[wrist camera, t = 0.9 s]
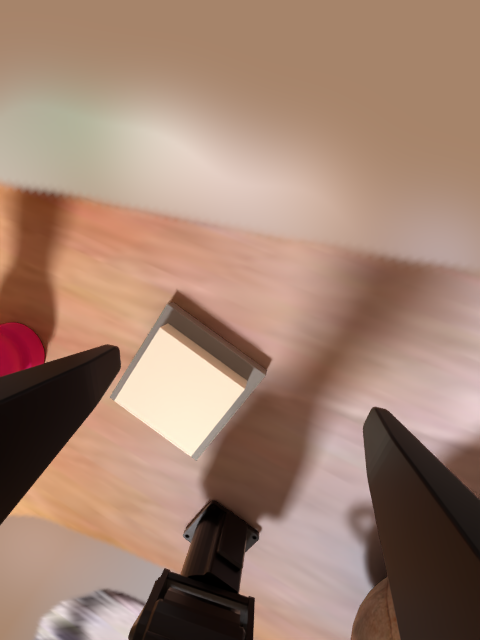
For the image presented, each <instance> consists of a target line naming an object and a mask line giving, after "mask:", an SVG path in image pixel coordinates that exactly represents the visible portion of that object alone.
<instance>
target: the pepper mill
mask: <svg viewBox="0 0 480 640" xmlns="http://www.w3.org/2000/svg"><path fill="white" fill-rule="evenodd" d="M44 358H45V354H44V348H43V345H42V343H41V340H40V339H39V337H38V336H37V335H36V334H35V333H34V331H33V330H31V329H30V328H28V327H27V326H25V325H23V324H19V323H15V322H11V323H5V324H1V325H0V377H1V376H5V375H8V374H11V373H14V372H18V371H21V370H24V369H28V368H31V367H34V366H37V365H41V364H44Z"/></svg>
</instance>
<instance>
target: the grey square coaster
mask: <svg viewBox="0 0 480 640" xmlns="http://www.w3.org/2000/svg"><path fill="white" fill-rule="evenodd" d="M266 372H267V370H266V369H264V368H263V367H262V366H260V365H259V364H257V363H256V362H255V361H253V360H252V359H251V358H249V357H248V356H246V355H245V354H244V353H242V352H241V351H240V350H238V349H237V348H235V347H234V346H233V345H231V344H230V343H229V342H227V341H226V340H224V339H223V338H222V337H220V336H219V335H218V334H216V333H215V332H213V331H212V330H211V329H209V328H208V327H206V326H205V325H204V324H202V323H201V322H200V321H198V320H197V319H195V318H194V317H193V316H191V315H190V314H189V313H187V312H186V311H184V310H183V309H182V308H180V307H179V306H178V305H176V304H175V303H173V302H171V303H168V304H167V305H166V307H165V308H164V310H163V311H162V313H161V315H160V316H159V318H158V320H157V321H156V323H155V324H154V326H153V328H152V329H151V331H150V333H149V334H148V336H147V337H146V339H145V341H144V342H143V344H142V346H141V347H140V349H139V350H138V352H137V354H136V355H135V357H134V359H133V360H132V362H131V363H130V365H129V367H128V368H127V370H126V372H125V373H124V375H123V376H122V378H121V380H120V381H119V383H118V385H117V386H116V388H115V389H114V391H113V393H112V394H111V396H110V398H111V399H112V400H114V401H115V402H116V403H118V404H119V405H121V406H122V407H123V408H125V409H126V410H127V411H129V412H130V413H131V414H133V415H134V416H136V417H137V418H138V419H140V420H141V421H142V422H144V423H145V424H147V425H148V426H149V427H151V428H152V429H153V430H155V431H156V432H158V433H159V434H160V435H162V436H163V437H164V438H166V439H167V440H169V441H170V442H171V443H173V444H174V445H175V446H177V447H178V448H179V449H181V450H182V451H184V452H185V453H186V454H188V455H189V456H190V457H192V458H193V459H195V460H196V461H197V460H198V458H199V457H200V456H201V455H202V453H203V452H204V451H205V450H206V448H207V447H208V446H209V445H210V444H211V442H212V441H213V440H214V439H215V437H216V436H217V435H218V434H219V433H220V431H221V430H222V429H223V428H224V426H225V425H226V424H227V423H228V421H229V420H230V419H231V418H232V417H233V415H234V414H235V413H236V412H237V410H238V409H239V408H240V407H241V406H242V404H243V403H244V402H245V401H246V399H247V398H248V397H249V396H250V394H251V393H252V392H253V391H254V390H255V388H256V387H257V386H258V385H259V383H260V382H261V381H262V380H263V379H264V377H265V376H266Z"/></svg>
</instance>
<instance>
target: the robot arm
mask: <svg viewBox="0 0 480 640" xmlns="http://www.w3.org/2000/svg"><path fill="white" fill-rule="evenodd" d="M120 368H121V360H120V350H119V348H118V347H117V346H113V345H108V344H107V345H103V346H100V347H96V348H93V349H90V350H87V351H83V352H80V353H77V354H74V355H70V356H67V357H64V358H60V359H57V360H54V361H51V362H47V363H44V364H41V365H37V366H34V367H31V368H28V369H24V370H21V371H18V372H14V373H11V374H8V375H5V376H1V377H0V525H1V524H2V522H3V521H4V520H5V519H6V518H7V516H8V515H9V514H10V513H11V511H12V510H13V509H14V508H15V506H16V505H17V504H18V503H19V501H20V500H21V499H22V498H23V496H24V495H25V494H26V493H27V491H28V490H29V489H30V488H31V487H32V485H33V484H34V483H35V482H36V480H37V479H38V478H39V477H40V475H41V474H42V473H43V472H44V470H45V469H46V468H47V467H48V465H49V464H50V463H51V462H52V460H53V459H54V458H55V457H56V455H57V454H58V453H59V452H60V451H61V449H62V448H63V447H64V446H65V444H66V443H67V442H68V441H69V439H70V438H71V437H72V436H73V434H74V433H75V432H76V431H77V429H78V428H79V427H80V426H81V424H82V423H83V422H84V421H85V420H86V418H87V417H88V416H89V415H90V413H91V412H92V411H93V409H94V408H95V407H96V406H97V404H98V403H99V401H100V400H101V398H102V397H103V395H104V394H105V392H106V391H107V389H108V388H109V386H110V385H111V383H112V381H113V380H114V378H115V377H116V375H117V374H118V372H119V370H120ZM363 438H364V448H365V459H366V470H367V478H368V484H369V489H370V494H371V498H372V503H373V508H374V513H375V518H376V523H377V528H378V533H379V537H380V542H381V547H382V552H383V557H384V562H385V567H386V571H387V576H388V581H389V586H390V591H391V596H392V601H393V605H394V610H395V615H396V620H397V625H398V630H399V635H400V639H401V640H480V499H478V498H477V497H476V496H475V495H474V494H473V493H472V492H471V491H470V490H469V489H468V488H467V487H466V486H465V485H464V484H463V483H462V482H461V481H460V480H459V479H458V478H457V477H456V476H455V475H454V474H453V473H452V472H451V471H450V470H449V469H448V468H447V467H446V466H445V465H444V464H443V463H441V462H440V461H439V460H438V459H437V458H436V457H435V456H434V455H433V454H432V453H431V452H430V451H429V450H428V449H427V448H426V447H425V446H424V445H423V444H422V443H421V442H420V441H419V440H418V439H417V438H416V437H415V436H414V435H413V434H412V433H411V432H410V431H409V430H408V429H407V428H405V427H404V426H403V425H402V424H401V423H400V422H399V421H398V420H397V419H396V418H395V417H394V416H393V415H392V414H391V413H390V412H389V411H388V410H386V409H383V408H378V407H373V408H372V409H371V411H370V413H369V415H368V417H367V419H366V421H365V423H364V426H363ZM183 537H184V538H185V539H186V540H188V541H189V542H190V543H191V544H190V547H189V550H188V553H187V556H186V559H185V562H184V565H183V568H182V571H181V574H177V573H174V572H171V571H170V570H169V569H166V568H164V570H163V573H162V575H161V577H159V578H158V580H157V581H155V584H154V587H153V589H152V592H151V594H150V596H149V598H148V601H147V603H146V605H145V606H144V608H143V610H142V611H141V613H140V615H139V616H138V618H137V620H136V621H135V623H134V624H133V626H132V628H131V630H130V633H129V637H128V639H129V640H253V628H254V602H255V598H254V597H251V596H249V597H246V596H243V595H240V594H239V589H240V581H241V574H242V568H243V562H244V555H245V552H246V551H247V550H248V549H249V548H250V547H252V546H253V545H254V544H255V543H256V542H257V541H258V539H259V533H258V531H256V530H255V529H253V528H252V527H251V526H249V525H248V524H247V523H245V522H244V521H243V520H241V519H240V518H238V517H237V516H236V515H234V514H233V513H232V512H230V511H229V510H227V509H226V508H225V507H223V506H222V505H221V504H219V503H218V502H216V501H211V502H210V503H209V504H208V505H207V506H206V507H205V508H204V509H203V511H202V512H201V513H200V514H199V515H198V516H197V517H196V518H195V520H194V521H193V522H192V523H191V524H190V525H189V526H188V527H187V528H186V530H185V531H184V534H183Z"/></svg>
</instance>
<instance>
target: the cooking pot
mask: <svg viewBox="0 0 480 640" xmlns="http://www.w3.org/2000/svg"><path fill="white" fill-rule="evenodd" d="M351 640H401V639H400V635H399V630H398V625H397V620H396V615H395V610H394V605H393V601H392V596H391V591H390V586H389V581H388V577H387V578H385V579H383V580H382V581H381V582H379V583H378V584H377V585H376V586H375V587H374V588H373V589H372V590H371V591H370V592H369V593H368V595H367V596H366V598H365V599H364V601H363V602H362V604H361V605H360V607H359V610H358V612H357V615H356V618H355V620H354V623H353V628H352V634H351Z"/></svg>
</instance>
